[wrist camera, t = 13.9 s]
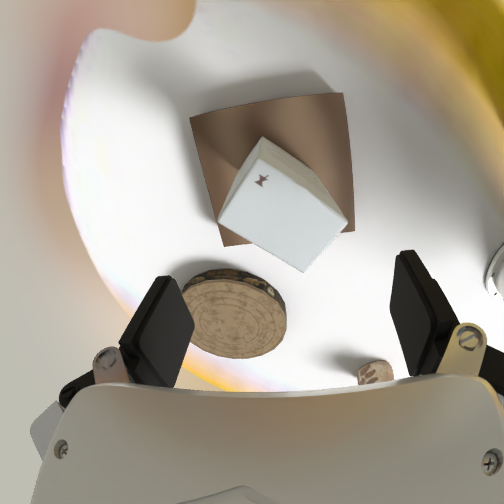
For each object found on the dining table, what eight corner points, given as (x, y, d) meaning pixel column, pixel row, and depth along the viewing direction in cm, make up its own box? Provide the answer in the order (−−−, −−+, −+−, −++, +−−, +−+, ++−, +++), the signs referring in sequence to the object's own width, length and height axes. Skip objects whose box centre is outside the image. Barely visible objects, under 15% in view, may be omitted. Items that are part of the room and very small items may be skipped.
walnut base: (334, 92, 23) (342, 92, 20) (347, 214, 31) (354, 231, 27) (200, 114, 26) (189, 117, 23) (230, 229, 33) (223, 246, 30)
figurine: (349, 378, 47) (356, 431, 37) (369, 358, 44) (380, 415, 33) (377, 381, 48) (386, 431, 38) (397, 361, 44) (411, 415, 34)
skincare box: (236, 172, 25) (211, 221, 14) (262, 135, 23) (256, 153, 13) (290, 207, 26) (303, 276, 16) (316, 172, 24) (352, 220, 14)
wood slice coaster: (161, 279, 38) (154, 293, 36) (268, 255, 34) (267, 269, 32) (207, 349, 46) (203, 362, 43) (297, 336, 42) (297, 351, 39)
